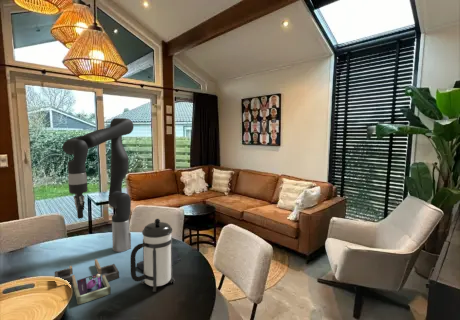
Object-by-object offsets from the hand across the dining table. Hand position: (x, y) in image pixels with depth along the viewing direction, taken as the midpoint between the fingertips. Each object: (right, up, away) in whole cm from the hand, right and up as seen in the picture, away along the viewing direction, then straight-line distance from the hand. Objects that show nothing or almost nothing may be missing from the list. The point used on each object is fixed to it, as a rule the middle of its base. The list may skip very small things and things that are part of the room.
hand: (80, 217), depth 123 cm
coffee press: (+38, -29, -7) cm, 48 cm away
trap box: (+8, -28, -7) cm, 29 cm away
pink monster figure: (+11, -29, -12) cm, 33 cm away
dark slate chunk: (+34, -27, +12) cm, 45 cm away
